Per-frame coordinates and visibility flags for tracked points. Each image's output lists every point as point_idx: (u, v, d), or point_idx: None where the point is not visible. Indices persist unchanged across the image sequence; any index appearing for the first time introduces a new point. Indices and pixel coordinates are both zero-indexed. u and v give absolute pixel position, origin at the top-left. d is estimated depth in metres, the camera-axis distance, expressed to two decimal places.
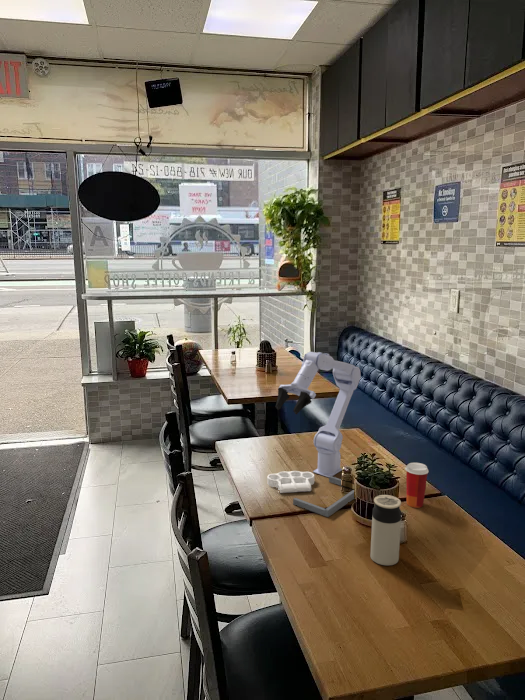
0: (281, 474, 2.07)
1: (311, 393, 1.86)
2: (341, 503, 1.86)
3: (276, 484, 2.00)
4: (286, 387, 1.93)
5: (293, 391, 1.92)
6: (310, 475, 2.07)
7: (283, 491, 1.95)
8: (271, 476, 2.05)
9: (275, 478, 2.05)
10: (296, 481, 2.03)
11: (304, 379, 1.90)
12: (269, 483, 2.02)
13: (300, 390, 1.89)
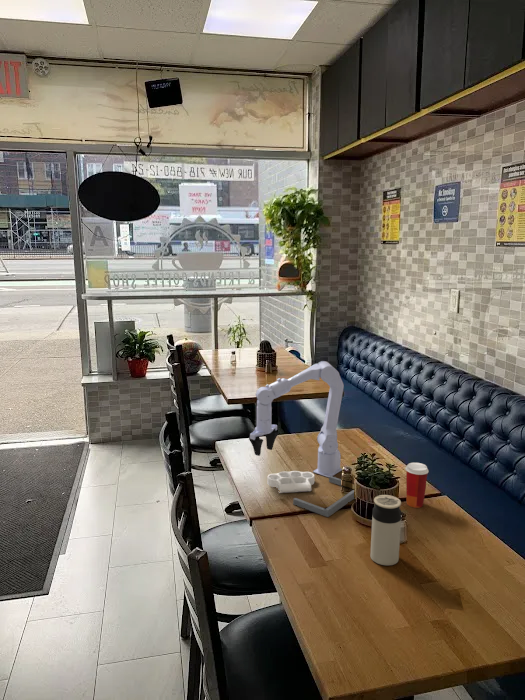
0: (281, 474, 2.07)
1: None
2: (341, 503, 1.86)
3: (276, 484, 2.00)
4: None
5: None
6: (310, 475, 2.07)
7: (283, 491, 1.95)
8: (271, 476, 2.05)
9: (275, 478, 2.05)
10: (296, 481, 2.03)
11: None
12: (269, 483, 2.02)
13: None
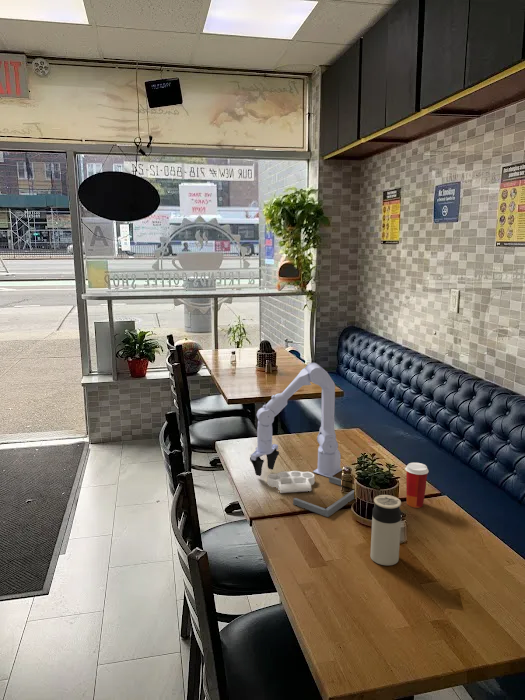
0: (281, 474, 2.07)
1: None
2: (341, 503, 1.86)
3: (276, 484, 2.00)
4: None
5: None
6: (310, 475, 2.07)
7: (283, 491, 1.95)
8: (271, 476, 2.05)
9: (275, 478, 2.05)
10: (296, 481, 2.03)
11: (257, 442, 2.08)
12: (269, 483, 2.02)
13: None
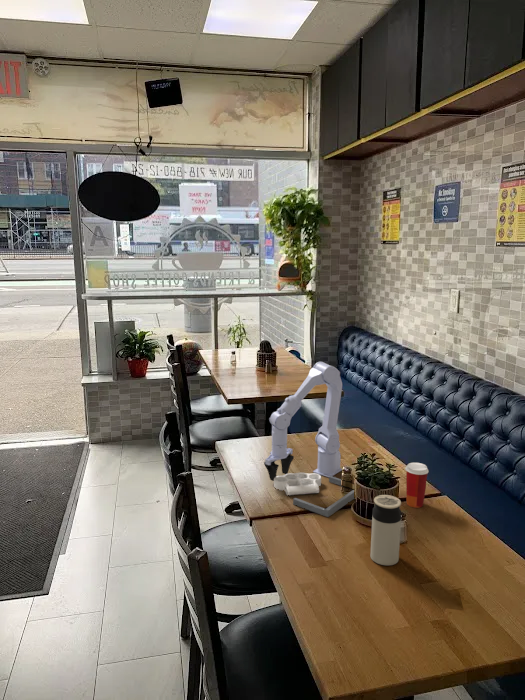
0: (287, 476, 2.05)
1: None
2: (341, 503, 1.86)
3: (283, 486, 1.98)
4: None
5: None
6: (317, 476, 2.05)
7: (291, 493, 1.93)
8: (277, 478, 2.03)
9: (282, 480, 2.03)
10: (303, 483, 2.01)
11: None
12: (276, 485, 1.99)
13: None
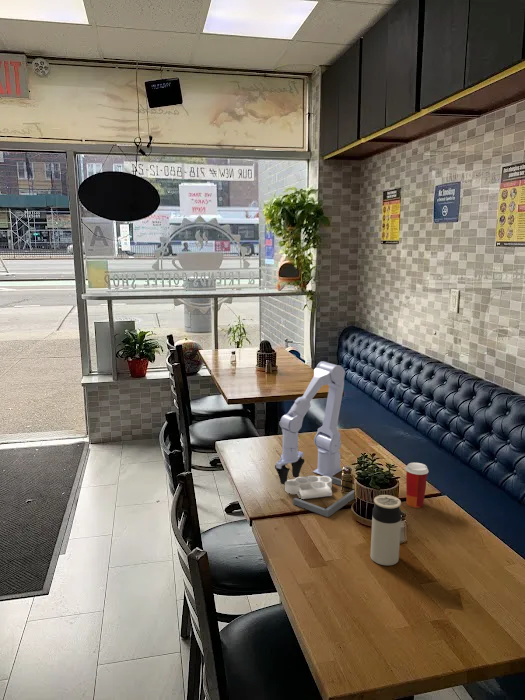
0: (297, 480, 2.02)
1: None
2: (341, 503, 1.86)
3: (295, 490, 1.95)
4: None
5: None
6: (327, 479, 2.03)
7: (304, 497, 1.91)
8: (288, 482, 2.00)
9: (292, 484, 2.00)
10: (314, 486, 1.99)
11: (282, 449, 2.01)
12: (288, 490, 1.96)
13: None
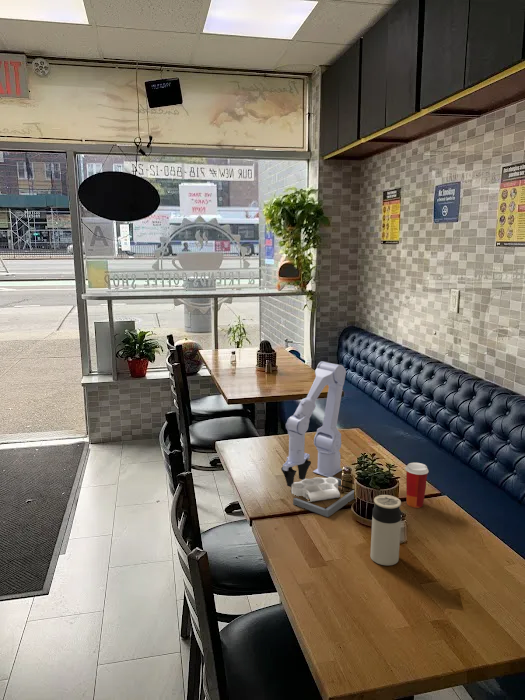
0: (304, 482, 2.01)
1: None
2: (341, 503, 1.86)
3: (303, 493, 1.93)
4: None
5: None
6: (333, 481, 2.02)
7: (313, 500, 1.89)
8: (295, 485, 1.98)
9: (299, 486, 1.98)
10: (321, 488, 1.98)
11: None
12: (295, 492, 1.94)
13: None
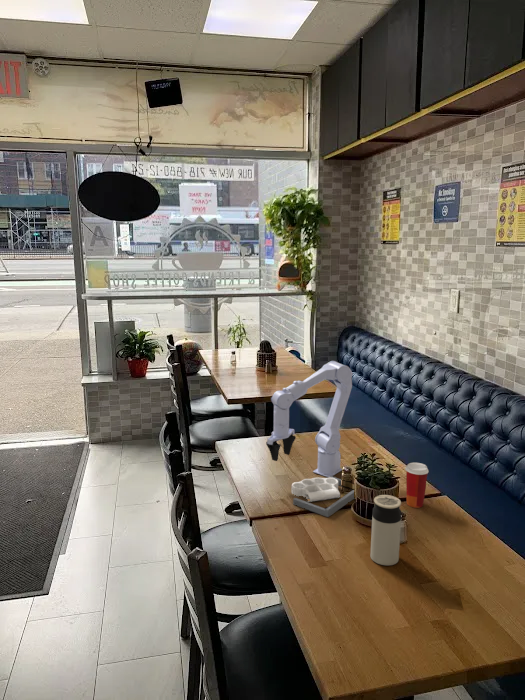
0: (304, 482, 2.01)
1: None
2: (341, 503, 1.86)
3: (303, 493, 1.93)
4: None
5: None
6: (333, 481, 2.02)
7: (313, 500, 1.89)
8: (295, 485, 1.98)
9: (299, 486, 1.98)
10: (321, 488, 1.98)
11: None
12: (295, 492, 1.94)
13: None
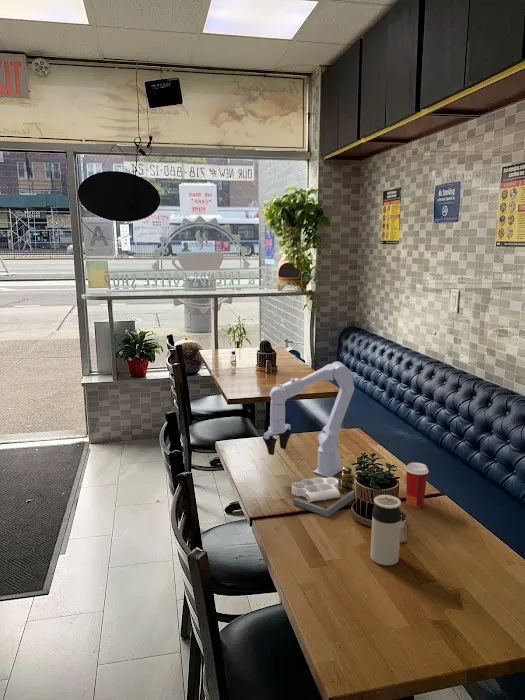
0: (304, 482, 2.01)
1: None
2: (341, 503, 1.86)
3: (303, 493, 1.93)
4: None
5: None
6: (333, 481, 2.02)
7: (313, 500, 1.89)
8: (295, 485, 1.98)
9: (299, 487, 1.98)
10: (321, 488, 1.98)
11: (270, 421, 2.08)
12: (295, 492, 1.94)
13: None
